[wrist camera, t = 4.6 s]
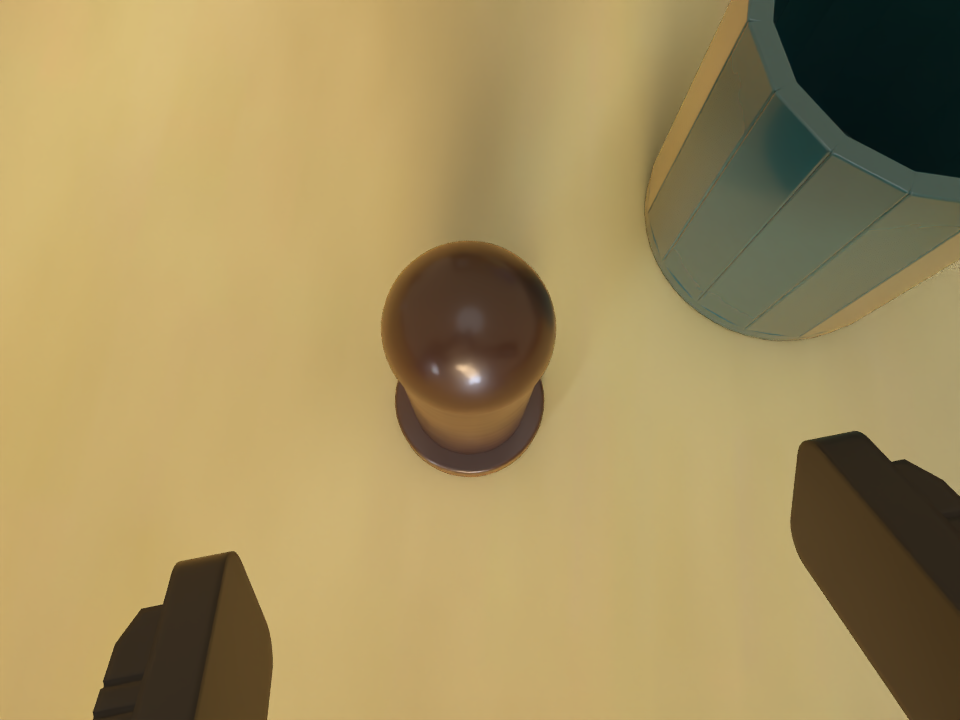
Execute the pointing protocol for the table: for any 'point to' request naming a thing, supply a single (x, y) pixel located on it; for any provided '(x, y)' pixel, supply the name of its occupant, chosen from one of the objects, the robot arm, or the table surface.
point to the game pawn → (468, 355)
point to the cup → (812, 164)
